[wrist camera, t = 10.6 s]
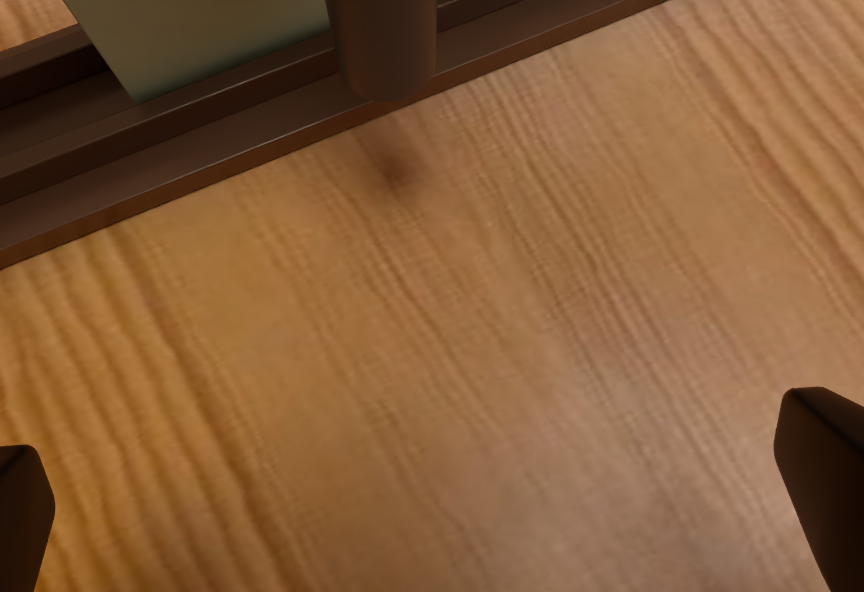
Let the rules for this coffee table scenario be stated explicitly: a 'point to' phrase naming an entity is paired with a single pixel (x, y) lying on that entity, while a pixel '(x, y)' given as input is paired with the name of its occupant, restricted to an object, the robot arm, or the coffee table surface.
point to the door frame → (213, 114)
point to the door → (261, 40)
